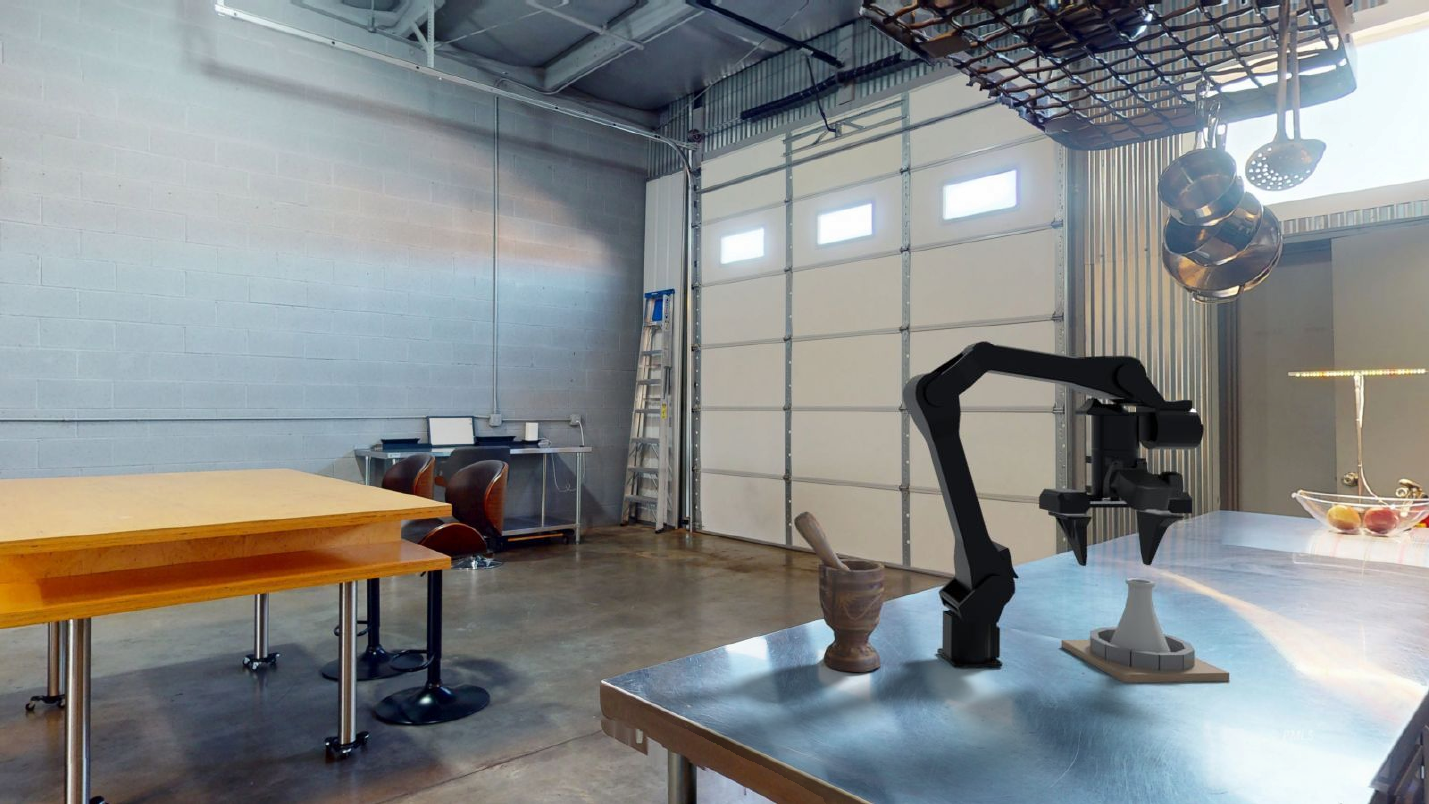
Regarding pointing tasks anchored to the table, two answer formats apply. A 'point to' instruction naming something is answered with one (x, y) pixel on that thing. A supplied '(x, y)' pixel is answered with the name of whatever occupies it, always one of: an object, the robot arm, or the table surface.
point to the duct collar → (1144, 660)
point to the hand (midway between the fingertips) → (1114, 565)
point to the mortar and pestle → (846, 600)
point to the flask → (1140, 620)
